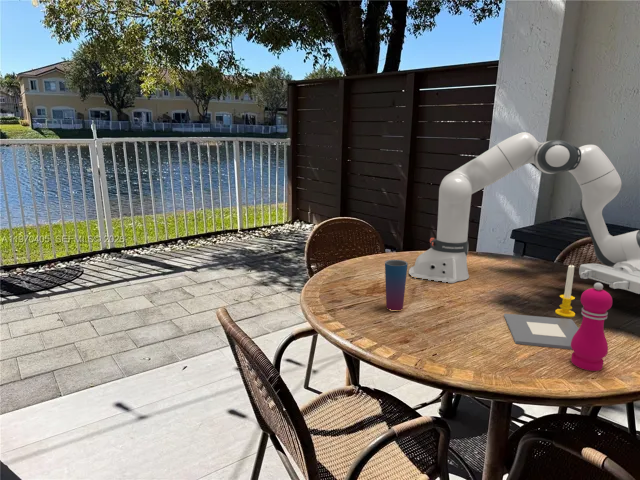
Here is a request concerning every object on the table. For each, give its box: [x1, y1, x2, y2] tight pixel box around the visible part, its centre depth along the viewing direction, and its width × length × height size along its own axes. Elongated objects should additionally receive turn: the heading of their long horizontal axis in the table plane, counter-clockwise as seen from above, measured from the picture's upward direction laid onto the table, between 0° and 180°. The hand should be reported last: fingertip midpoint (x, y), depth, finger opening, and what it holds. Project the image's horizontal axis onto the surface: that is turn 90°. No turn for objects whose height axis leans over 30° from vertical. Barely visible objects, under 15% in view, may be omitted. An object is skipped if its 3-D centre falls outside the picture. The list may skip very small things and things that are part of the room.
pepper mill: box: [570, 282, 613, 372], centre depth 96 cm, size 7×7×20 cm
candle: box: [554, 264, 576, 318], centre depth 125 cm, size 5×5×16 cm
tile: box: [503, 313, 580, 351], centre depth 114 cm, size 18×18×1 cm
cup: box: [384, 259, 408, 310], centre depth 129 cm, size 7×7×15 cm
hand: (596, 280), depth 129 cm, fingers open, 8 cm apart
